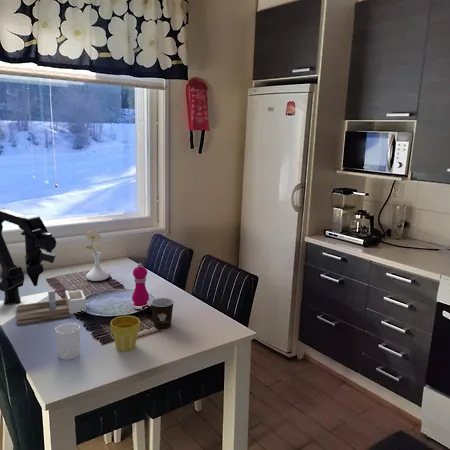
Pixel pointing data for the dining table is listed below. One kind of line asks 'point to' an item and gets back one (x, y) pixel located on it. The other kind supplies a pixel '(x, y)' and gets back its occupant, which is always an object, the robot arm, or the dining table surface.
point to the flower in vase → (96, 259)
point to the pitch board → (41, 312)
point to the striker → (52, 299)
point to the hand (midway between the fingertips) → (34, 282)
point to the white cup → (68, 340)
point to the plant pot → (125, 332)
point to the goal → (75, 300)
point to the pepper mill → (140, 286)
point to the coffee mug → (161, 312)
